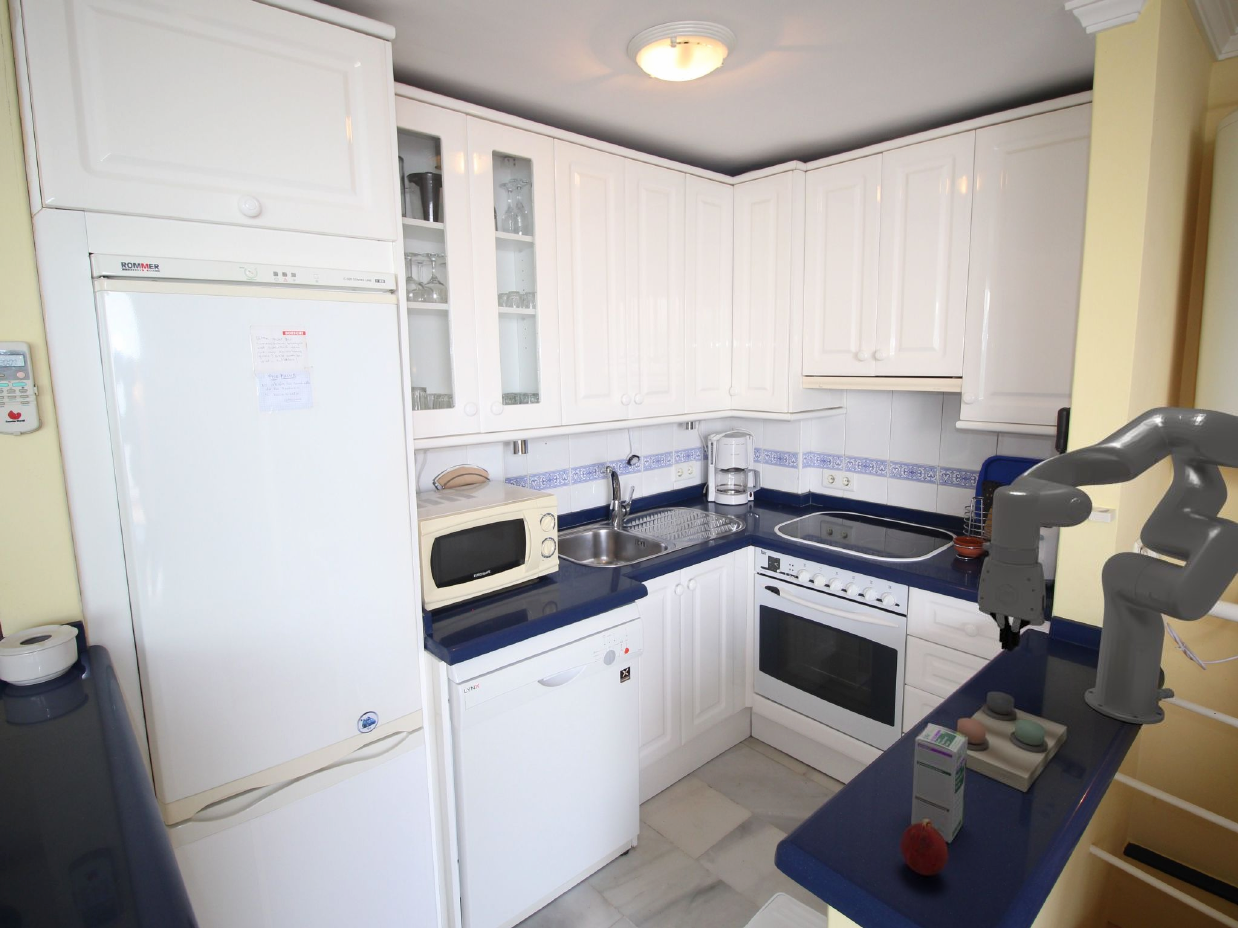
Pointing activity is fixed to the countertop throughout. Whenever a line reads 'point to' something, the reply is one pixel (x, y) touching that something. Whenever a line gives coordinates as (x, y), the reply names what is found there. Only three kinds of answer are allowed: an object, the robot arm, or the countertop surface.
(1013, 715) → the button panel
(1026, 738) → the green button
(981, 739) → the terracotta button
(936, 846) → the onion
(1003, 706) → the charcoal button
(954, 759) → the syrup box
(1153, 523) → the robot arm
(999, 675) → the countertop surface
